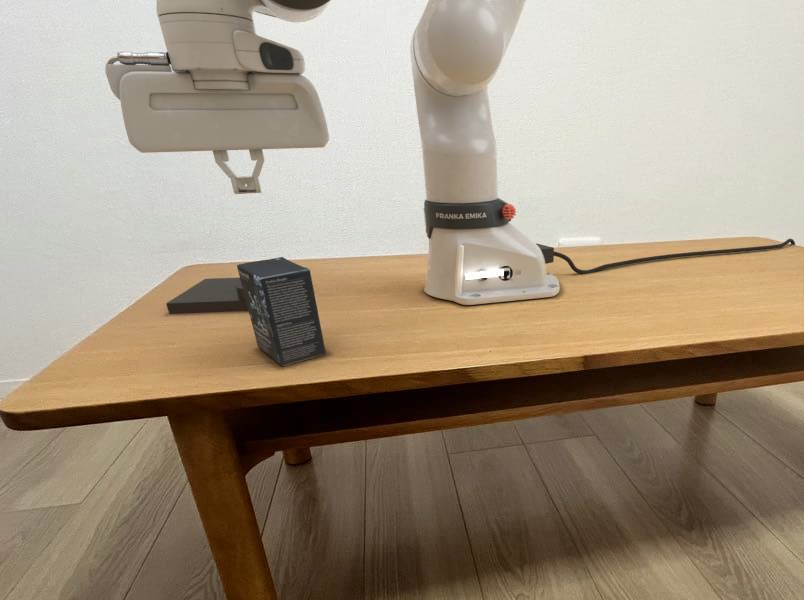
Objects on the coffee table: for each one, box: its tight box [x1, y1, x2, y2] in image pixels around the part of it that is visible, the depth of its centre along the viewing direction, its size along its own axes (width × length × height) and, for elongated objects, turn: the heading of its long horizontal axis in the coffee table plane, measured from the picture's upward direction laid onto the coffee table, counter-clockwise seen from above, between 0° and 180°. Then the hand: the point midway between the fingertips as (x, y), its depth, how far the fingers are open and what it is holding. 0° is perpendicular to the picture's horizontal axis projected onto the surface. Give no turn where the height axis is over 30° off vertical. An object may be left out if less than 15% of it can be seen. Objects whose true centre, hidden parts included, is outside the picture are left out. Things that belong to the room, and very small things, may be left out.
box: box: [236, 256, 327, 367], centre depth 64 cm, size 8×6×11 cm
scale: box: [165, 277, 249, 315], centre depth 85 cm, size 16×14×4 cm
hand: (248, 193), depth 64 cm, fingers closed
